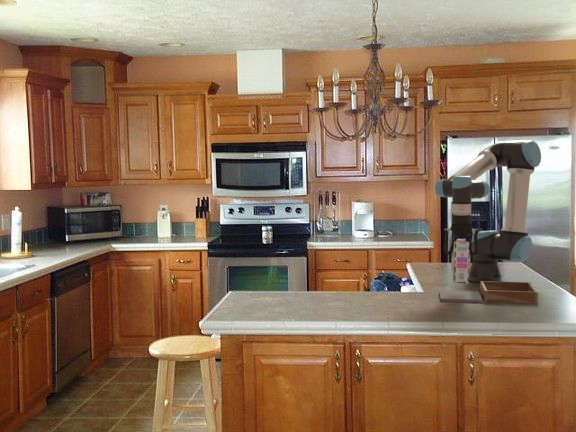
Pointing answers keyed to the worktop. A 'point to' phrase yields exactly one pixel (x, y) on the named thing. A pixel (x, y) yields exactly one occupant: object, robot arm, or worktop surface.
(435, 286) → the worktop surface
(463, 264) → the candy box
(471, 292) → the plate
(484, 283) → the crate
